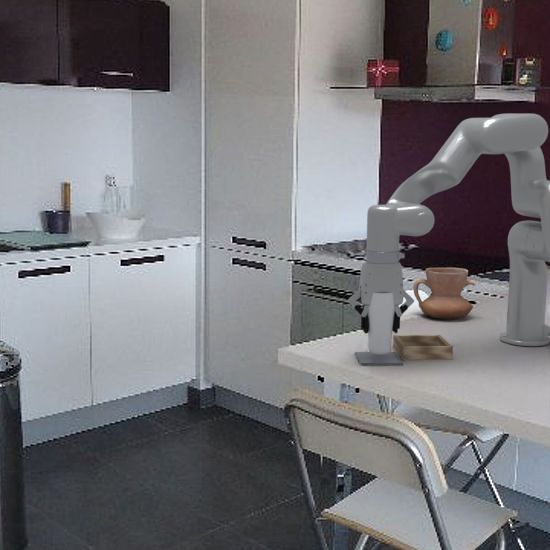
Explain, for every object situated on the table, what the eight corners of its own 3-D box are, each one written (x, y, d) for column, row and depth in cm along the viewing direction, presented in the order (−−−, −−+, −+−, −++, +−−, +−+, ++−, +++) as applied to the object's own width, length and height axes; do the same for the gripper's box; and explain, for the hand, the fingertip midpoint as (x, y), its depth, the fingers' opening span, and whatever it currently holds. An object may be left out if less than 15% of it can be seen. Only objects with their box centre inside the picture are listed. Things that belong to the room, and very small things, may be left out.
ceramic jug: (475, 313, 254) (477, 267, 252) (473, 323, 241) (475, 274, 238) (415, 310, 259) (416, 265, 257) (410, 320, 245) (411, 272, 243)
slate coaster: (394, 353, 208) (394, 351, 208) (403, 365, 198) (403, 362, 198) (354, 354, 207) (354, 351, 207) (361, 365, 198) (361, 363, 197)
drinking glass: (392, 356, 199) (394, 294, 196) (364, 355, 200) (365, 292, 197) (394, 349, 205) (396, 288, 203) (366, 347, 207) (367, 287, 204)
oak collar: (439, 346, 216) (440, 334, 215) (452, 359, 204) (452, 347, 204) (393, 346, 215) (393, 335, 214) (403, 359, 203) (403, 347, 203)
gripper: (415, 255, 203) (412, 328, 206) (343, 255, 202) (341, 328, 205) (422, 260, 195) (419, 335, 199) (348, 260, 194) (346, 336, 197)
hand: (380, 331), depth 202 cm, fingers closed on drinking glass, 6 cm apart
